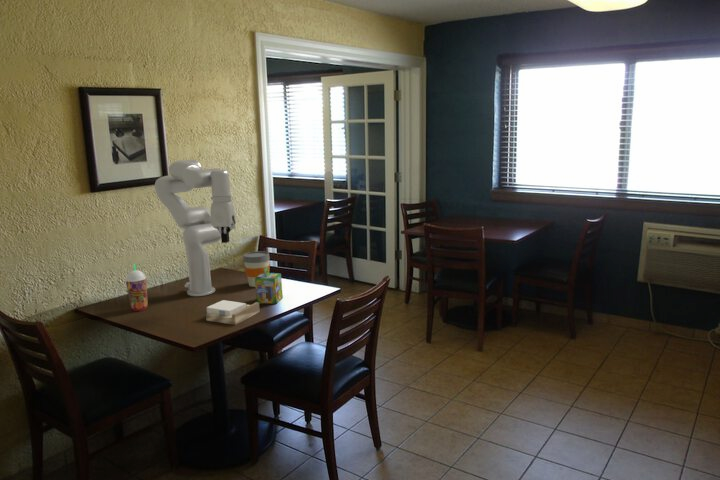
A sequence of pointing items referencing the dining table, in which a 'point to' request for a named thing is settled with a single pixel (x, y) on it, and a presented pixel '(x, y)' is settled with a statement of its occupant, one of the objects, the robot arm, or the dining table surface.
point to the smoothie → (137, 290)
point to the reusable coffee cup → (255, 265)
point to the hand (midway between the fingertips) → (225, 242)
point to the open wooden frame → (235, 315)
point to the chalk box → (268, 287)
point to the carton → (225, 308)
